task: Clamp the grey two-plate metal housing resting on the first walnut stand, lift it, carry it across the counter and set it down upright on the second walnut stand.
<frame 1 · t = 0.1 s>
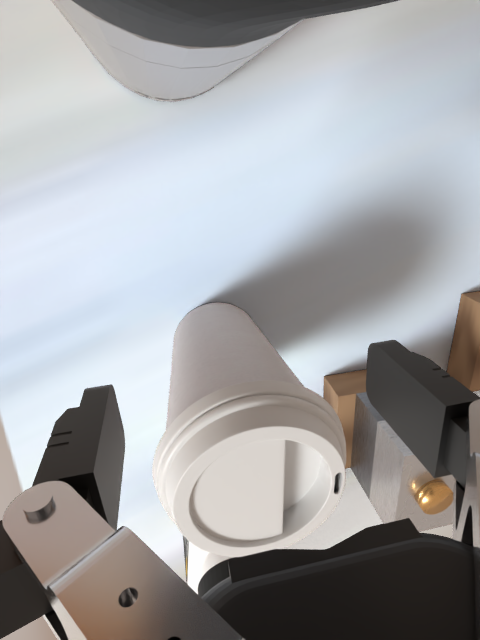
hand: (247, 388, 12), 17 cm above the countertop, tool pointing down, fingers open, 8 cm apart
housing: (380, 427, 34), point 3 cm above the countertop, touching stand a
coffee cup: (215, 339, 31), on the countertop
medicine bottle: (220, 488, 38), on the countertop
stand a: (364, 405, 37), on the countertop
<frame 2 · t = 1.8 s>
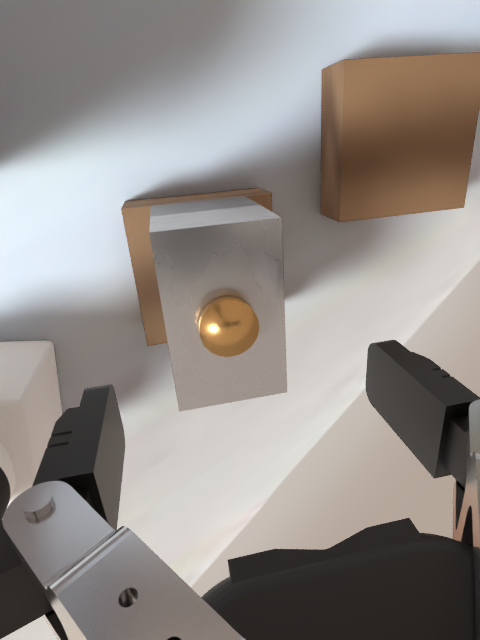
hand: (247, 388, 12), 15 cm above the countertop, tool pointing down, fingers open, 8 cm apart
housing: (206, 273, 23), point 3 cm above the countertop, touching stand a
stand b: (382, 141, 25), on the countertop
medicine bottle: (3, 386, 27), on the countertop
stand a: (201, 259, 26), on the countertop
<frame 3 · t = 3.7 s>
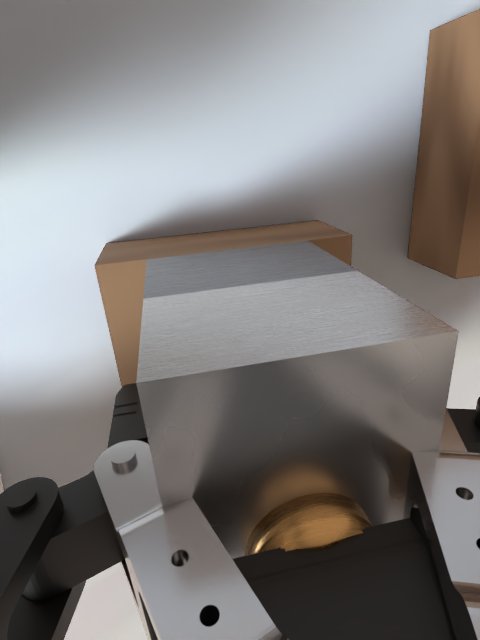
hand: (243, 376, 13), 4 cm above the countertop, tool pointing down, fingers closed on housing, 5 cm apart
housing: (238, 363, 14), point 3 cm above the countertop, touching gripper, stand a
stand a: (225, 328, 17), on the countertop
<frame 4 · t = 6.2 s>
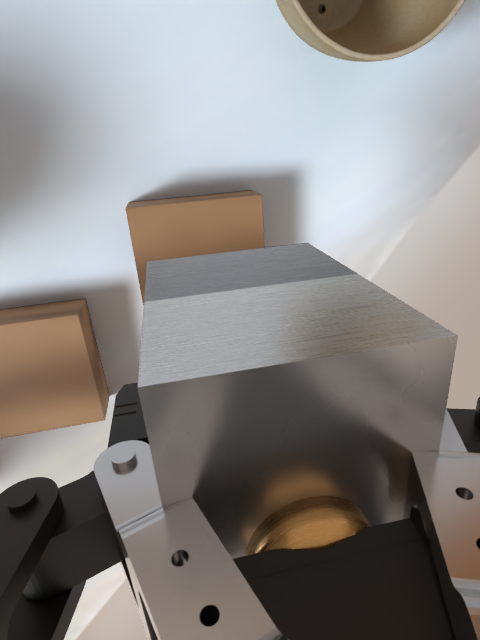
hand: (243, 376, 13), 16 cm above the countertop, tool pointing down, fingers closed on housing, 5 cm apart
housing: (238, 364, 14), point 15 cm above the countertop, touching gripper
stand b: (198, 256, 28), on the countertop
stand a: (40, 358, 29), on the countertop
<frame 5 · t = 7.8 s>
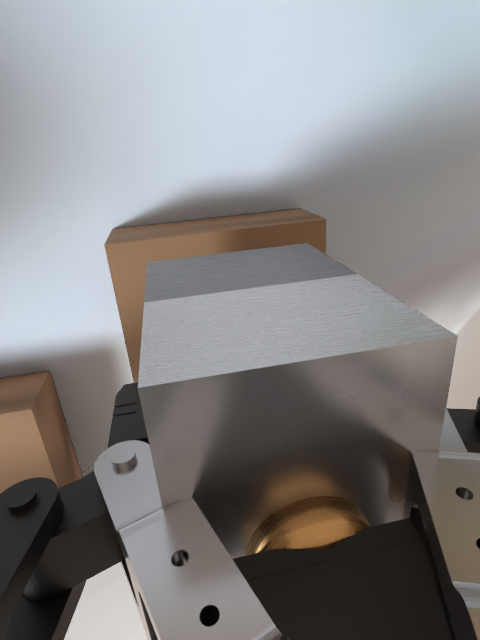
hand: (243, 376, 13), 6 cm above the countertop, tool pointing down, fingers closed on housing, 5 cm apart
housing: (238, 365, 14), point 5 cm above the countertop, touching gripper
stand b: (218, 305, 19), on the countertop
when the fingers open (5 cm above the countertop, at t = 8.9 s): housing drops 1 cm, resting on stand b.
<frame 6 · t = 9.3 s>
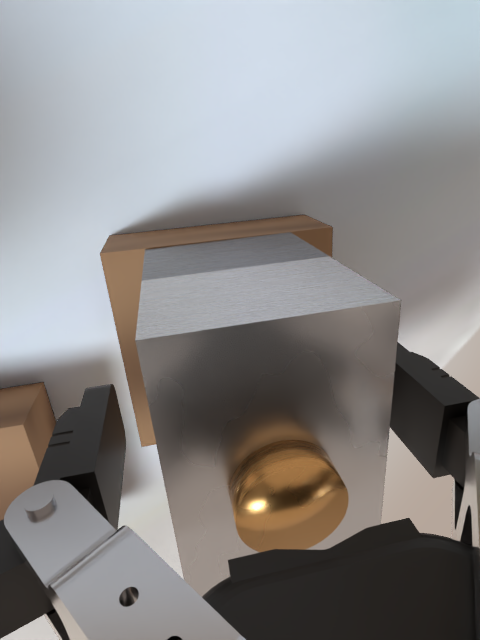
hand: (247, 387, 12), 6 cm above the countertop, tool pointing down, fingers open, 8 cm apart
housing: (229, 345, 15), point 3 cm above the countertop, touching stand b
stand b: (219, 314, 18), on the countertop
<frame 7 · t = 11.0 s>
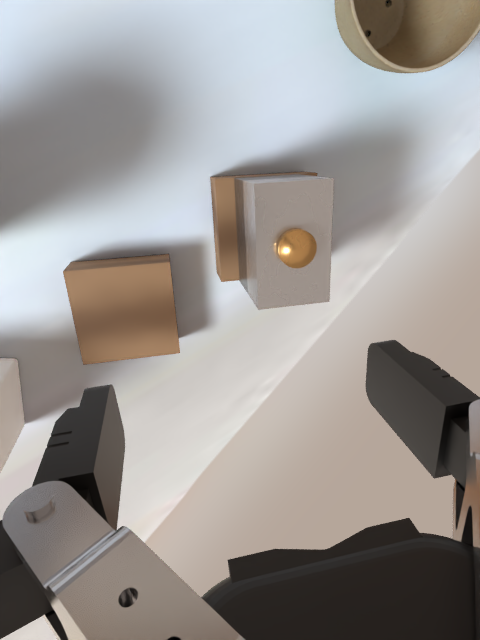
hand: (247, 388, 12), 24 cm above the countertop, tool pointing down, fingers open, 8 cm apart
housing: (267, 229, 32), point 3 cm above the countertop, touching stand b
flower pot: (368, 14, 31), on the countertop
stand b: (259, 223, 35), on the countertop
stand a: (128, 302, 35), on the countertop
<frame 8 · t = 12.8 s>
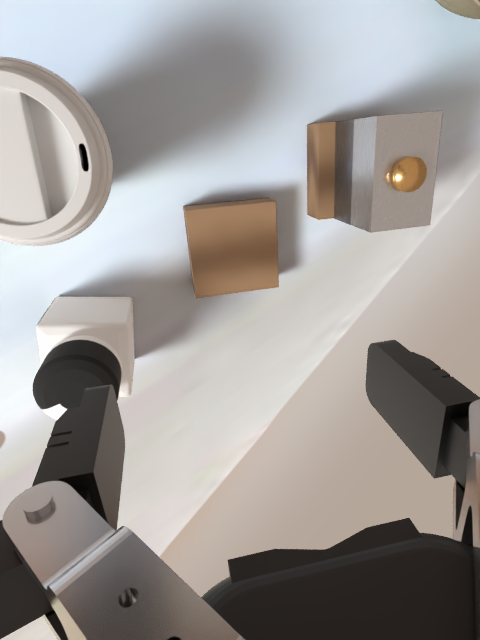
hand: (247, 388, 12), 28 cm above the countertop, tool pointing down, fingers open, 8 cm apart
housing: (361, 169, 36), point 3 cm above the countertop, touching stand b
coffee cup: (68, 155, 34), on the countertop
stand b: (347, 168, 39), on the countertop
medicine bottle: (97, 328, 40), on the countertop
stand a: (229, 244, 39), on the countertop
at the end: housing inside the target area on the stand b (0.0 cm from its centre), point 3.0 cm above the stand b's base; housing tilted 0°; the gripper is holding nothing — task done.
